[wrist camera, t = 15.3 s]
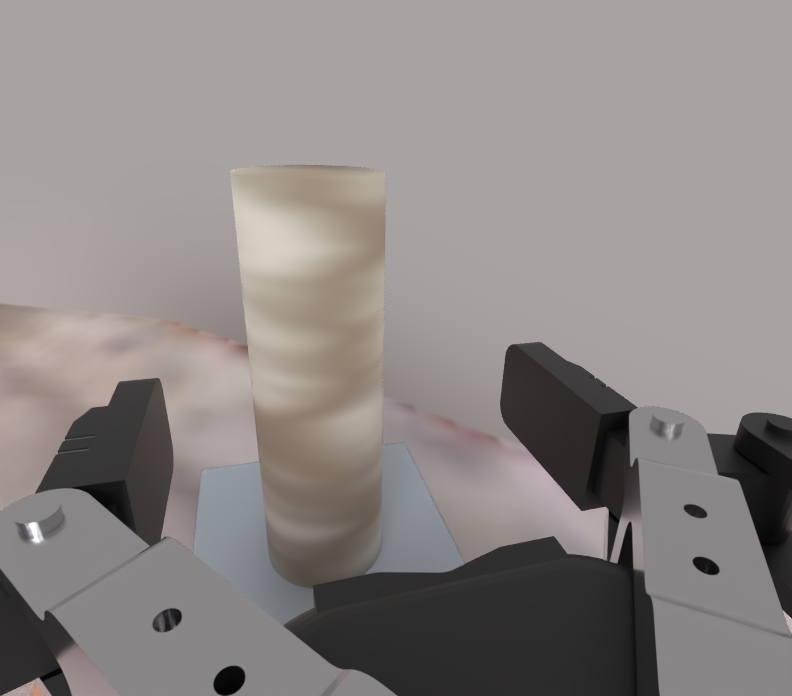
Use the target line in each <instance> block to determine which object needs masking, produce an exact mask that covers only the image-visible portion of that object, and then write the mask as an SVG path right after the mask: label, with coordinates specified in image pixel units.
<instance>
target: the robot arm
mask: <svg viewBox="0 0 792 696" xmlns="http://www.w3.org/2000/svg"><path fill="white" fill-rule="evenodd" d="M500 407H501V414H502V417H503V420H504V422H505V424H506V425H507V427H508V428H509V429H510V430H511V431H512V432H513V434H514V435H515V436H516V437H517V438H518V439H519V440H520V442H521V443H522V444H523V445H524V446H525V447H526V448H527V449H528V451H529V452H530V453H531V454H532V455H533V456H534V457H535V459H536V460H537V461H538V462H539V463H540V464H541V465H542V467H543V468H544V469H545V470H546V471H547V472H548V473H549V475H550V476H551V477H552V478H553V479H554V480H555V481H556V482H557V484H558V485H559V486H560V487H561V488H562V489H563V490H564V492H565V493H566V494H567V495H568V496H569V497H570V498H571V500H572V501H573V502H574V503H575V504H576V505H577V506H578V508H579V509H580V510H581V511H585V510H590V509H595V508H600V507H605V506H606V507H607V508H608V511H607V515H606V519H605V525H604V550H603V559H599V558H594V557H590V556H583V555H574V554H567V553H566V552H565V550H564V549H563V548H562V546H561V545H560V544H559V542H558V541H557V540H556V538H555V537H554V536H552V537H547V538H542V539H537V540H532V541H528V542H523V543H518V544H513V545H508V546H503V547H499V548H497V549H495V550H493V551H491V552H489V553H487V554H485V555H482V556H480V557H478V558H476V559H474V560H472V561H470V562H468V563H466V564H464V565H462V566H460V567H457V568H455V569H453V570H451V571H448V572H440V573H436V572H376V573H371V574H366V575H361V576H356V577H351V578H346V579H341V580H336V581H332V582H327V583H322V584H317V585H313V600H314V608H312V609H310V610H308V611H306V612H304V613H302V614H300V615H298V616H297V617H295V618H293V619H292V620H290V621H288V622H287V623H286V624H284V625H281V624H280V623H279V622H278V621H276V620H275V619H274V618H273V617H271V616H270V615H269V614H268V613H266V612H265V611H264V610H263V609H262V608H260V607H259V606H258V605H257V604H255V603H254V602H253V601H252V600H250V599H249V598H248V597H247V596H245V595H244V594H243V593H242V592H240V591H239V590H238V589H237V588H235V587H234V586H233V585H232V584H230V583H229V582H228V581H227V580H226V579H224V578H223V577H222V576H221V575H219V574H218V573H217V572H216V571H214V570H213V569H212V568H211V567H209V566H208V565H207V564H206V563H204V562H203V561H202V560H201V559H199V558H198V557H197V556H196V555H194V554H193V553H192V552H191V551H189V550H188V549H187V548H186V547H185V546H183V545H182V544H181V543H180V542H178V541H177V540H175V539H173V538H171V537H164V538H163V539H161V533H162V528H163V522H164V517H165V511H166V506H167V500H168V495H169V489H170V484H171V478H172V473H173V447H172V440H171V434H170V428H169V423H168V417H167V411H166V406H165V400H164V394H163V389H162V385H161V382H160V380H159V378H152V379H142V380H132V381H121V382H119V383H118V385H117V387H116V389H115V392H114V394H113V396H112V398H111V400H110V403H109V405H108V406H104V407H95V408H91V409H90V410H89V411H87V412H86V413H85V414H84V415H82V416H81V417H80V418H78V419H77V420H76V421H75V422H73V424H72V426H71V428H70V430H69V431H68V433H67V435H66V437H65V441H63V443H62V444H61V446H60V448H59V450H58V455H56V456H55V457H54V459H53V461H52V463H51V465H50V467H49V469H48V470H47V472H46V474H45V476H44V478H43V480H42V482H41V484H40V485H39V487H38V489H37V491H36V493H35V494H33V495H30V496H28V497H25V498H23V499H21V500H19V501H17V502H15V503H13V504H11V505H9V506H8V507H6V508H5V509H3V510H2V511H0V696H1V695H3V694H5V693H7V692H10V691H12V690H14V689H16V688H18V687H20V686H22V685H24V684H27V683H29V682H31V681H33V680H34V681H35V683H36V684H37V686H38V687H39V689H40V690H41V692H42V693H43V695H44V696H792V633H791V632H790V630H789V628H788V625H787V623H786V620H785V617H784V614H783V611H785V612H786V613H787V614H788V615H789V616H790V617H791V618H792V419H791V418H788V417H785V416H781V415H776V414H770V413H749V414H747V415H745V416H743V417H742V419H741V422H740V425H739V428H738V431H737V434H736V435H724V434H723V435H722V434H707V433H706V430H705V428H704V427H703V426H702V425H701V424H700V423H699V422H698V421H696V420H694V419H693V418H691V417H690V416H688V415H685V414H683V413H680V412H678V411H674V410H671V409H667V408H661V407H640V408H637V407H636V406H635V405H634V404H632V403H631V402H629V401H628V400H627V399H625V398H624V397H622V396H621V395H620V394H618V393H617V392H615V391H614V390H613V389H611V388H610V387H606V384H604V383H603V382H602V381H600V380H599V379H597V378H596V379H595V378H594V376H593V375H592V374H591V373H589V372H588V371H586V370H585V369H584V368H582V367H581V366H578V365H576V364H573V363H571V362H569V361H566V360H565V359H563V358H562V357H561V356H559V355H558V354H557V353H555V352H554V351H552V350H551V349H550V348H548V347H547V346H546V345H544V344H543V343H541V342H534V343H525V344H513V345H510V346H509V347H508V349H507V352H506V356H505V364H504V374H503V382H502V391H501V401H500ZM160 539H161V540H160ZM782 610H783V611H782Z"/></svg>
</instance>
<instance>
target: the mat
mask: <svg viewBox="0 0 792 696" xmlns="http://www.w3.org/2000/svg"><path fill="white" fill-rule="evenodd" d="M193 554H194V555H196V556H197V557H198V558H199V559H201V560H202V561H203V562H204V563H206V564H207V565H208V566H209V567H211V568H212V569H213V570H214V571H216V572H217V573H218V574H219V575H221V576H222V577H223V578H224V579H226V580H227V581H228V582H229V583H230V584H232V585H233V586H234V587H235V588H237V589H238V590H239V591H240V592H242V593H243V594H244V595H245V596H247V597H248V598H249V599H250V600H252V601H253V602H254V603H255V604H257V605H258V606H259V607H260V608H262V609H263V610H264V611H265V612H266V613H268V614H269V615H270V616H271V617H273V618H274V619H275V620H276V621H278V622H279V623H280V624H281V625H284V624H286V623H287V622H288V621H290V620H292V619H293V618H295V617H297V616H298V615H300V614H302V613H304V612H306V611H308V610H310V609H312V608H314V600H313V589H311V588H305V587H301V586H298V585H295V584H293V583H290V582H288V581H287V580H285V579H284V578H282V577H281V576H280V575H279V574H278V573H277V572H276V571H275V569H274V568H273V566H272V564H271V561H270V558H269V551H268V541H267V531H266V521H265V511H264V501H263V491H262V482H261V472H260V462H254V463H246V464H239V465H232V466H224V467H217V468H210V469H202V472H201V481H200V491H199V500H198V509H197V518H196V528H195V537H194V546H193ZM464 564H465V562H464V560H463V558H462V556H461V554H460V552H459V550H458V548H457V546H456V544H455V542H454V540H453V538H452V536H451V534H450V532H449V530H448V528H447V526H446V524H445V522H444V520H443V519H442V517H441V515H440V513H439V511H438V509H437V507H436V505H435V503H434V501H433V499H432V497H431V495H430V493H429V491H428V489H427V487H426V485H425V483H424V481H423V479H422V477H421V475H420V473H419V471H418V469H417V467H416V465H415V463H414V461H413V459H412V457H411V455H410V453H409V451H408V449H407V447H406V445H405V443H404V442H401V443H393V444H386V445H383V449H382V530H381V550H380V553H379V556H378V558H377V560H376V562H375V563H374V565H373V566H372V567H371V568H370V569H369V570H368V571H367V572H366V573H365V574H364V575H366V574H371V573H376V572H436V573H440V572H448V571H451V570H453V569H455V568H457V567H460V566H462V565H464Z"/></svg>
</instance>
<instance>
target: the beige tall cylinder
mask: <svg viewBox="0 0 792 696" xmlns="http://www.w3.org/2000/svg"><path fill="white" fill-rule="evenodd" d="M230 175H231V184H232V195H233V204H234V215H235V223H236V224H235V225H236V234H237V243H238V254H239V264H240V273H241V284H242V294H243V303H244V313H245V323H246V333H247V343H248V353H249V363H250V373H251V383H252V393H253V402H254V412H255V422H256V432H257V442H258V452H259V462H260V472H261V482H262V491H263V501H264V511H265V521H266V531H267V541H268V551H269V558H270V561H271V564H272V566H273V568H274V569H275V571H276V572H277V573H278V574H279V575H280V576H281V577H282V578H284V579H285V580H287V581H288V582H290V583H293V584H295V585H298V586H301V587H305V588H311V589H313V585H317V584H322V583H327V582H332V581H336V580H341V579H346V578H351V577H356V576H361V575H364V574H365V573H366V572H367V571H368V570H369V569H370V568H371V567H372V566H373V565H374V563H375V562H376V560H377V558H378V556H379V553H380V550H381V530H382V449H383V367H384V365H383V364H384V286H385V285H384V283H385V279H384V278H385V204H386V203H385V202H386V201H385V199H386V172H384V171H381V170H376V169H370V168H361V167H346V166H324V165H283V166H280V165H279V166H258V167H247V168H239V169H235V170H231V171H230Z"/></svg>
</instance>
